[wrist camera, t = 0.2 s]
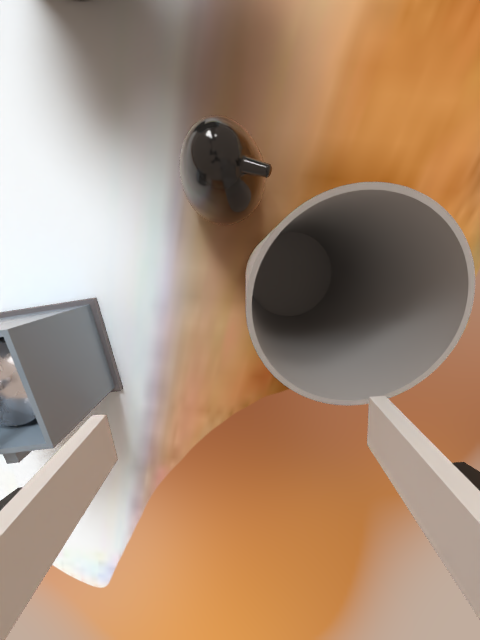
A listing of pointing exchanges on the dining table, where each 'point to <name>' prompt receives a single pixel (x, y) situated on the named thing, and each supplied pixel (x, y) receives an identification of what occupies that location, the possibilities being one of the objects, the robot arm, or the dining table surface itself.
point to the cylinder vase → (359, 293)
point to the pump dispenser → (222, 170)
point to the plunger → (12, 392)
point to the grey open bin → (56, 370)
